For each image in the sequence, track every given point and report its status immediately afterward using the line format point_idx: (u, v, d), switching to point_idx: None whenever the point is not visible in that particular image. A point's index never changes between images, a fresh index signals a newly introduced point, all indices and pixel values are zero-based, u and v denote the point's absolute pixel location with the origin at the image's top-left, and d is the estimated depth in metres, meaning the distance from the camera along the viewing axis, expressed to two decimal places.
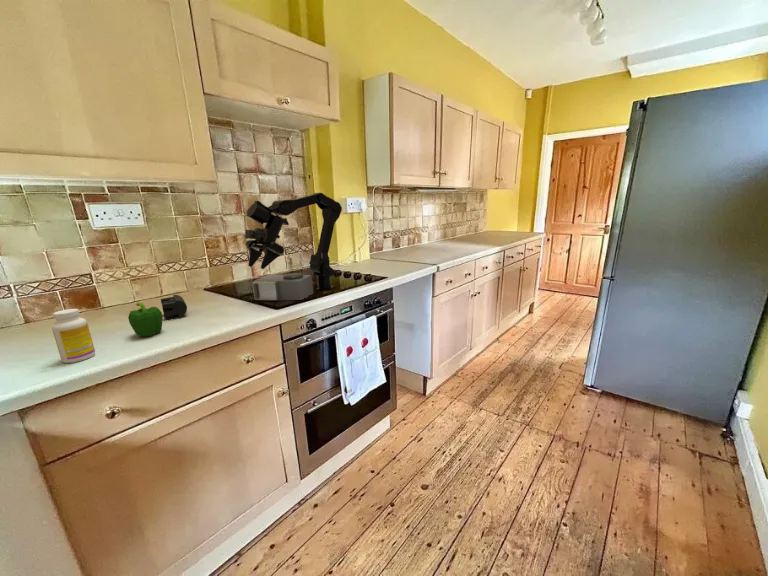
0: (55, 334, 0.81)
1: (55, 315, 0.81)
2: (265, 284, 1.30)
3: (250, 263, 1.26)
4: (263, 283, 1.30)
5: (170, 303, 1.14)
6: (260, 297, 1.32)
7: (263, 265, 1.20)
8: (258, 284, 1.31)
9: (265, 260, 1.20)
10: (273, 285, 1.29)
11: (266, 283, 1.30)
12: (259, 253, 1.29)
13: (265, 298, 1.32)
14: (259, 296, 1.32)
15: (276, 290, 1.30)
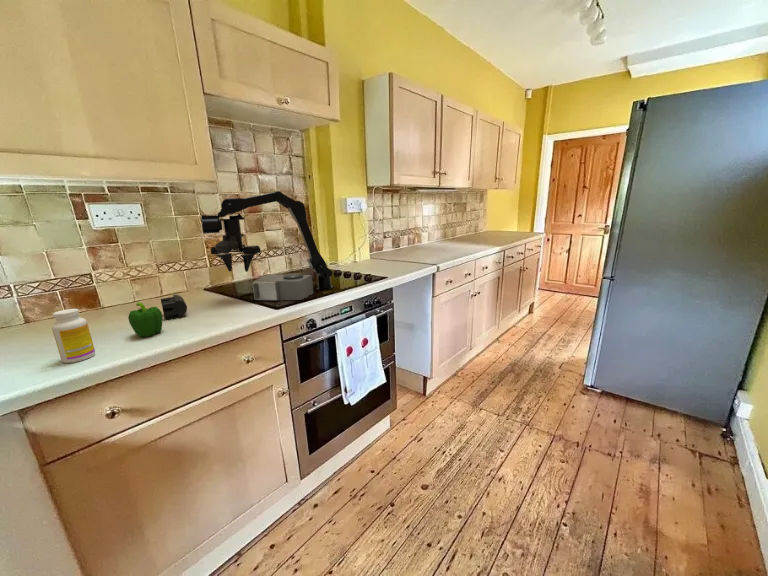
0: (55, 334, 0.81)
1: (55, 315, 0.81)
2: (265, 284, 1.30)
3: (229, 268, 1.32)
4: (263, 283, 1.30)
5: (170, 303, 1.14)
6: (260, 297, 1.32)
7: (247, 268, 1.31)
8: (258, 284, 1.31)
9: (247, 263, 1.30)
10: (273, 285, 1.29)
11: (266, 283, 1.30)
12: (230, 255, 1.33)
13: (265, 298, 1.32)
14: (259, 296, 1.32)
15: (276, 290, 1.30)
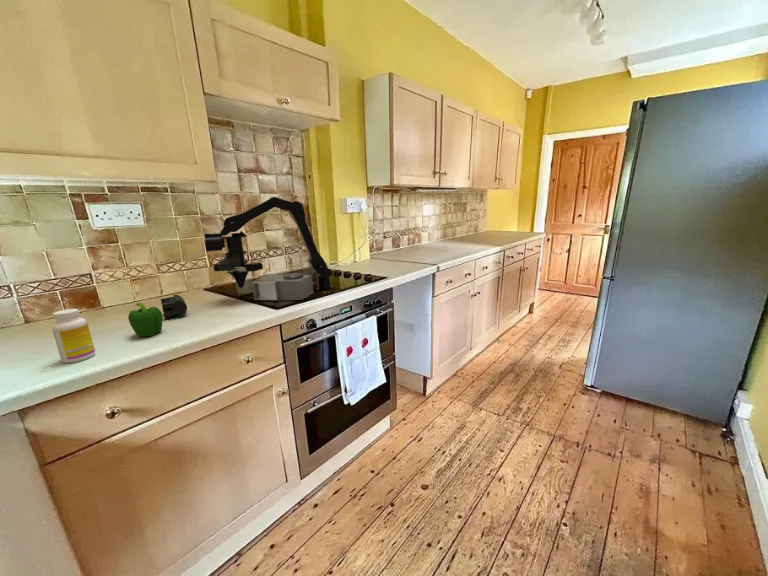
0: (55, 334, 0.81)
1: (55, 315, 0.81)
2: (265, 284, 1.30)
3: None
4: (263, 283, 1.30)
5: (170, 303, 1.14)
6: (260, 297, 1.32)
7: (242, 284, 1.33)
8: (258, 284, 1.31)
9: (242, 280, 1.32)
10: (273, 285, 1.29)
11: (266, 283, 1.30)
12: None
13: (265, 298, 1.32)
14: (259, 296, 1.32)
15: (276, 290, 1.30)
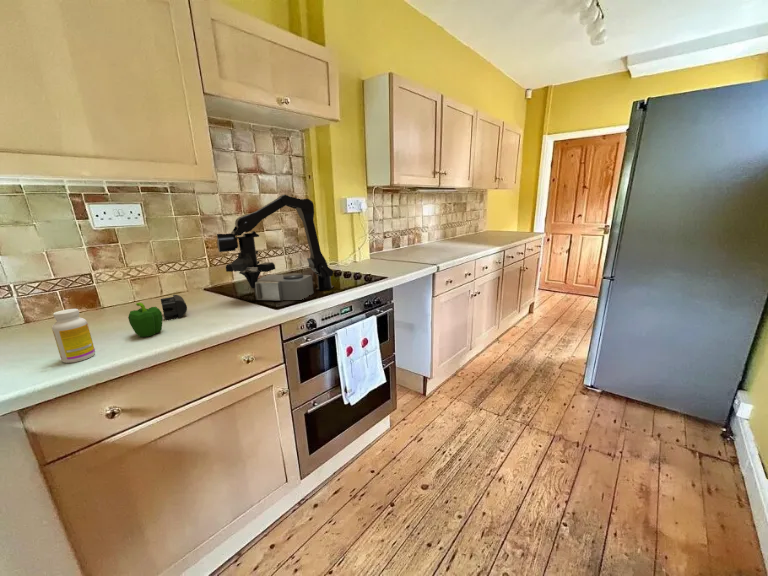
0: (55, 334, 0.81)
1: (55, 315, 0.81)
2: (267, 284, 1.30)
3: None
4: (266, 283, 1.30)
5: (170, 303, 1.14)
6: (263, 297, 1.32)
7: (254, 285, 1.32)
8: (261, 284, 1.31)
9: (254, 280, 1.31)
10: (276, 285, 1.29)
11: (269, 283, 1.30)
12: None
13: (268, 298, 1.32)
14: (262, 296, 1.32)
15: (278, 290, 1.30)
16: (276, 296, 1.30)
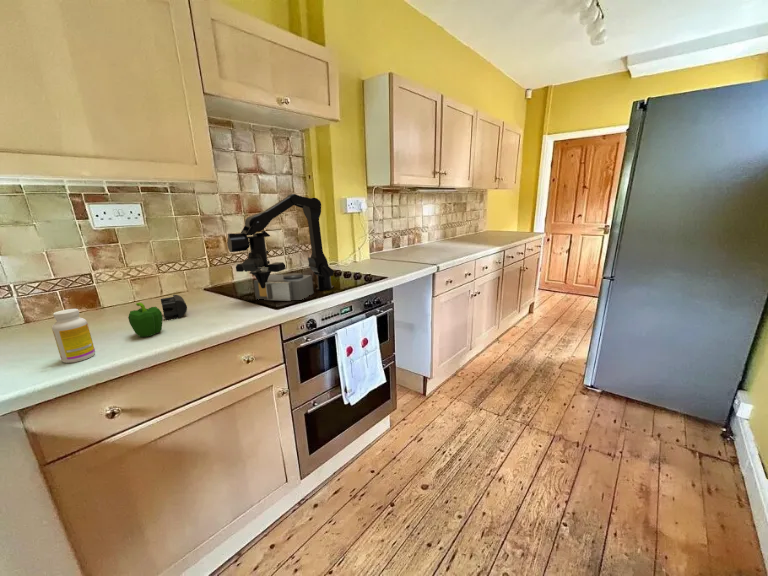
0: (55, 334, 0.81)
1: (55, 315, 0.81)
2: (278, 285, 1.29)
3: None
4: (276, 283, 1.29)
5: (170, 303, 1.14)
6: (274, 297, 1.31)
7: (264, 285, 1.31)
8: (271, 284, 1.30)
9: (264, 280, 1.30)
10: (286, 285, 1.28)
11: (279, 283, 1.29)
12: None
13: (278, 298, 1.30)
14: (272, 296, 1.31)
15: (289, 290, 1.29)
16: (287, 296, 1.29)
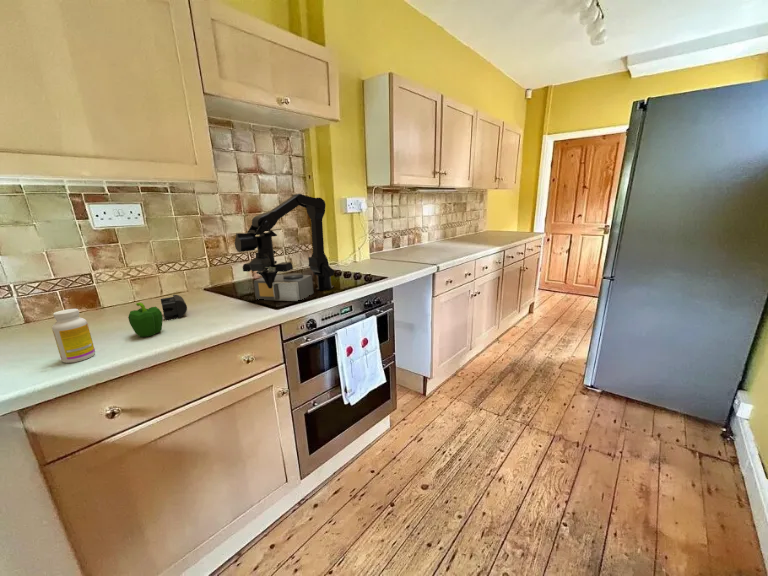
0: (55, 334, 0.81)
1: (55, 315, 0.81)
2: (285, 285, 1.28)
3: None
4: (283, 283, 1.28)
5: (170, 303, 1.14)
6: (281, 297, 1.30)
7: (271, 285, 1.30)
8: (278, 284, 1.29)
9: (271, 280, 1.29)
10: (294, 285, 1.27)
11: (286, 283, 1.28)
12: (269, 271, 1.31)
13: (285, 299, 1.30)
14: (279, 297, 1.30)
15: (296, 291, 1.28)
16: (294, 296, 1.29)
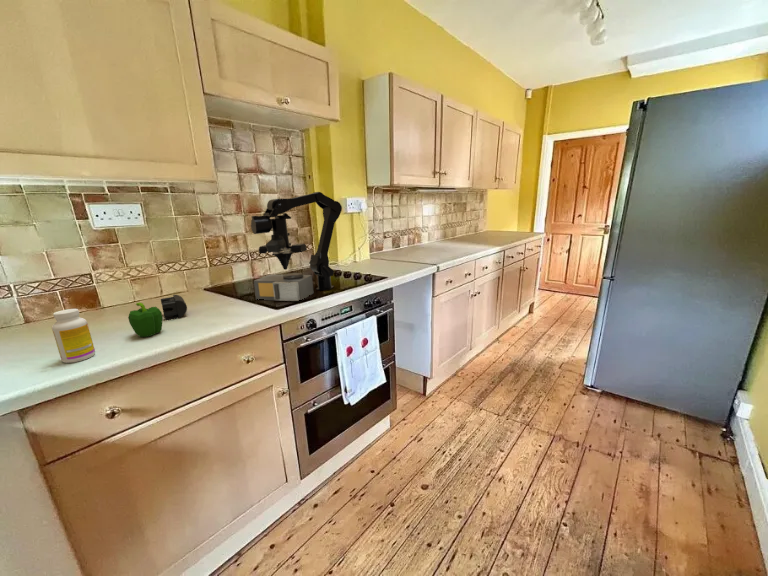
0: (55, 334, 0.81)
1: (55, 315, 0.81)
2: (285, 285, 1.28)
3: None
4: (284, 283, 1.28)
5: (170, 303, 1.14)
6: (281, 297, 1.30)
7: (286, 266, 1.36)
8: (278, 284, 1.29)
9: (286, 261, 1.35)
10: (294, 285, 1.27)
11: (287, 283, 1.28)
12: None
13: (285, 299, 1.30)
14: (279, 297, 1.30)
15: (296, 291, 1.28)
16: (294, 296, 1.29)
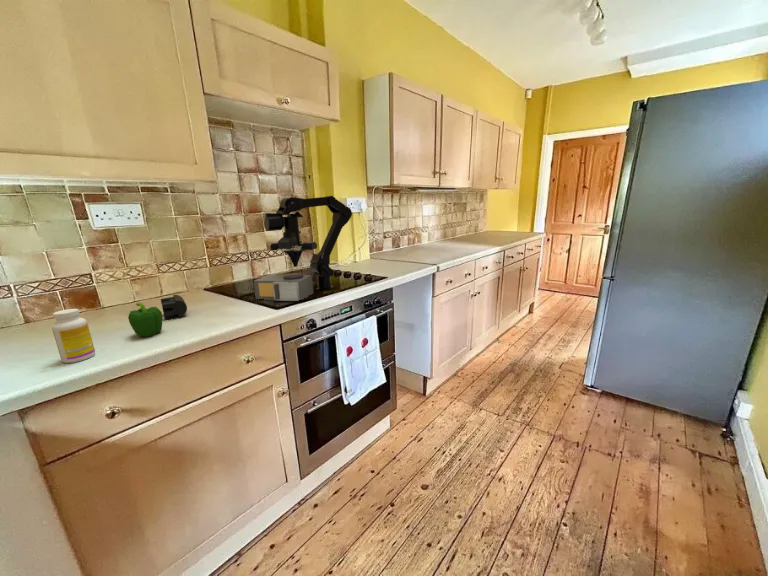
0: (55, 334, 0.81)
1: (55, 315, 0.81)
2: (285, 285, 1.28)
3: None
4: (284, 283, 1.28)
5: (170, 303, 1.14)
6: (281, 297, 1.30)
7: (296, 263, 1.38)
8: (278, 284, 1.29)
9: (297, 259, 1.38)
10: (294, 285, 1.27)
11: (287, 283, 1.28)
12: (294, 251, 1.39)
13: (285, 299, 1.30)
14: (279, 297, 1.30)
15: (296, 291, 1.28)
16: (294, 296, 1.29)
